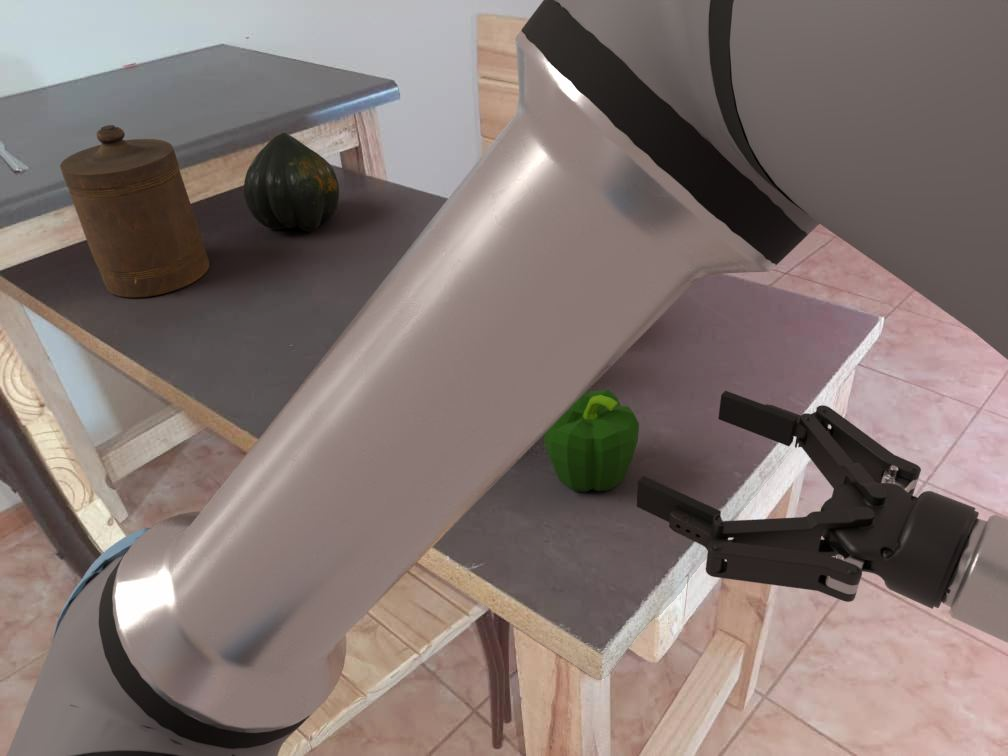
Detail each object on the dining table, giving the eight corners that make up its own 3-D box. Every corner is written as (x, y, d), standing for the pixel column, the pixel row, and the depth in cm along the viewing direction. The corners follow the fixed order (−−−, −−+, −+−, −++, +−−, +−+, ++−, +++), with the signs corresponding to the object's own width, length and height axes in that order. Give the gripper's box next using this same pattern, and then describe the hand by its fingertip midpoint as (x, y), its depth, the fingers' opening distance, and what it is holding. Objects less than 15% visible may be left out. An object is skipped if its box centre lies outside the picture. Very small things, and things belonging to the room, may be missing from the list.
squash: (281, 222, 116) (310, 127, 116) (214, 210, 123) (242, 120, 123) (341, 252, 128) (368, 165, 129) (278, 239, 135) (303, 157, 136)
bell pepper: (530, 466, 76) (526, 383, 70) (600, 438, 79) (602, 355, 73) (576, 519, 70) (576, 432, 64) (651, 486, 73) (657, 400, 67)
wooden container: (182, 244, 124) (137, 104, 112) (227, 271, 116) (184, 122, 103) (89, 278, 116) (30, 131, 104) (130, 309, 107) (70, 153, 95)
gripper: (889, 730, 47) (598, 569, 59) (993, 498, 62) (745, 407, 74) (919, 655, 43) (599, 497, 55) (1023, 425, 58) (755, 340, 70)
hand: (682, 445), depth 64 cm, fingers open, 13 cm apart
